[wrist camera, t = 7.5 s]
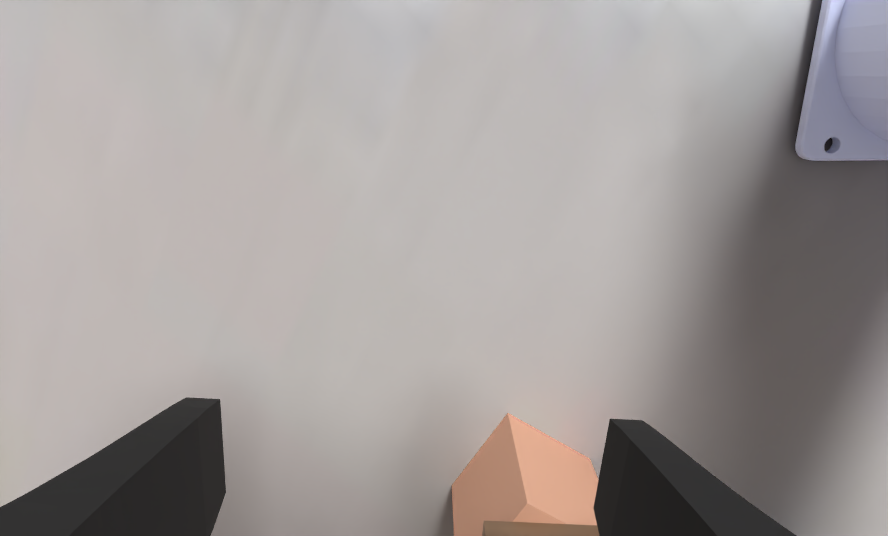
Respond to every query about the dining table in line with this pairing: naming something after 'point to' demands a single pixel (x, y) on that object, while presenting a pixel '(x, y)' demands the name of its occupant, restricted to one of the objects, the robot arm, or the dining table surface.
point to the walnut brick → (537, 529)
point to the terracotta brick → (523, 481)
